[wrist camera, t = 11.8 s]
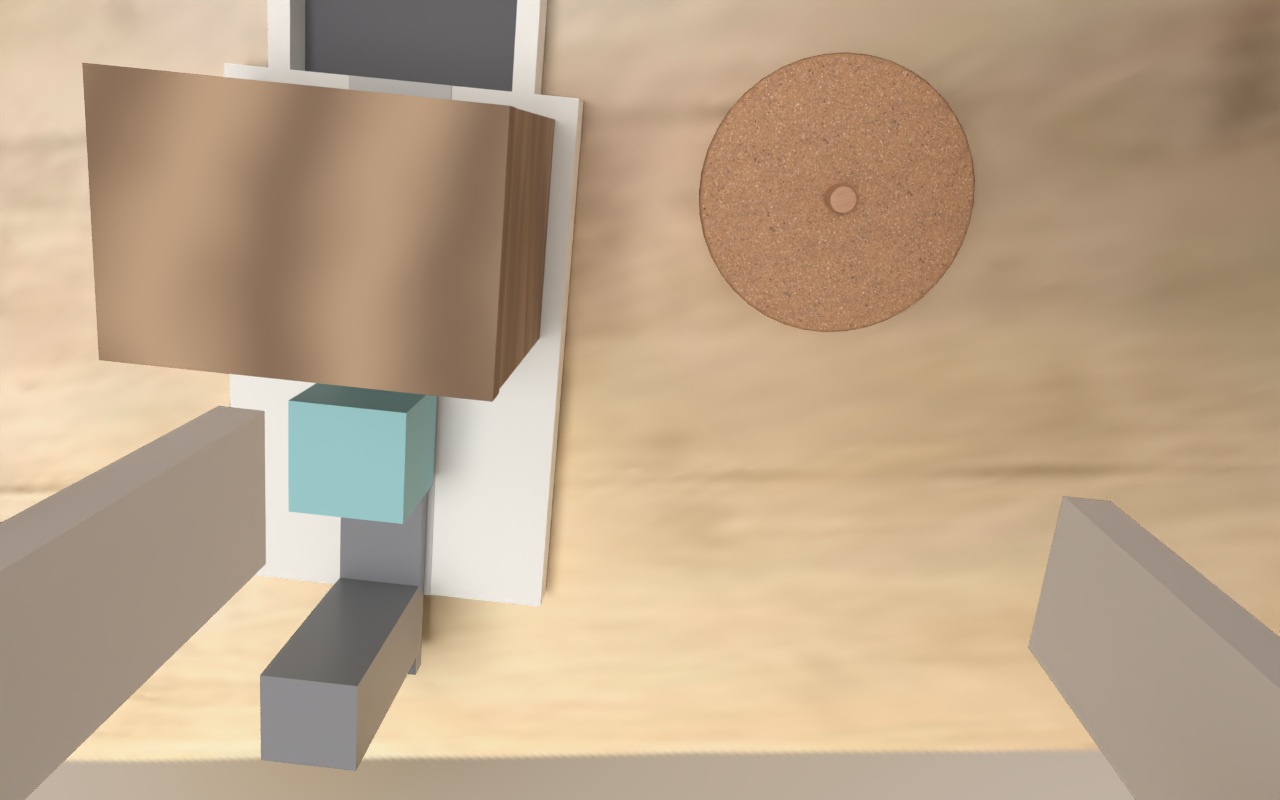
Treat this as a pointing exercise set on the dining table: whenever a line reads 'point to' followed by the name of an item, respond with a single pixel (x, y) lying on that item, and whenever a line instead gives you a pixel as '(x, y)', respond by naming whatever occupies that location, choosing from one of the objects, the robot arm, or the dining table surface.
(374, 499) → the block
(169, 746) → the dining table surface
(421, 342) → the tunnel
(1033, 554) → the dining table surface
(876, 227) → the lidded jar
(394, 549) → the grey l-shaped piece
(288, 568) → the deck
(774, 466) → the dining table surface
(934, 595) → the dining table surface
